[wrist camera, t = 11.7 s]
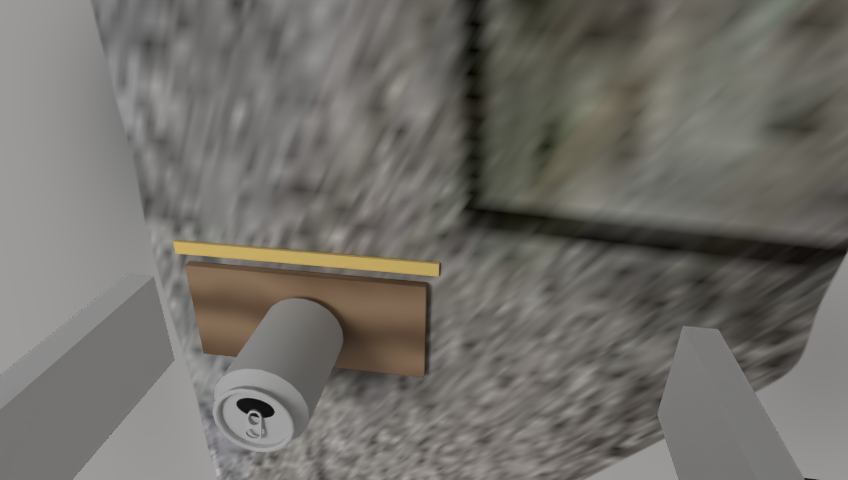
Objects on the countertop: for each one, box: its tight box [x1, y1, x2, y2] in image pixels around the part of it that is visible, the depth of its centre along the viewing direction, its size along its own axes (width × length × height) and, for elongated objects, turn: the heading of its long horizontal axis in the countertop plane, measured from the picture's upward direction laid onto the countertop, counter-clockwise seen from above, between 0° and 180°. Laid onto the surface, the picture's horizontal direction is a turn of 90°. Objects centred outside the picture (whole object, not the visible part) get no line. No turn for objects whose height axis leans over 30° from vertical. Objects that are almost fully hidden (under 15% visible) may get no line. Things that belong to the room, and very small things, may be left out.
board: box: [185, 261, 427, 378], centre depth 50 cm, size 10×22×1 cm, turn 89°
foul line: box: [173, 240, 439, 276], centre depth 47 cm, size 1×24×1 cm, turn 89°
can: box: [213, 298, 343, 452], centre depth 44 cm, size 8×8×12 cm
